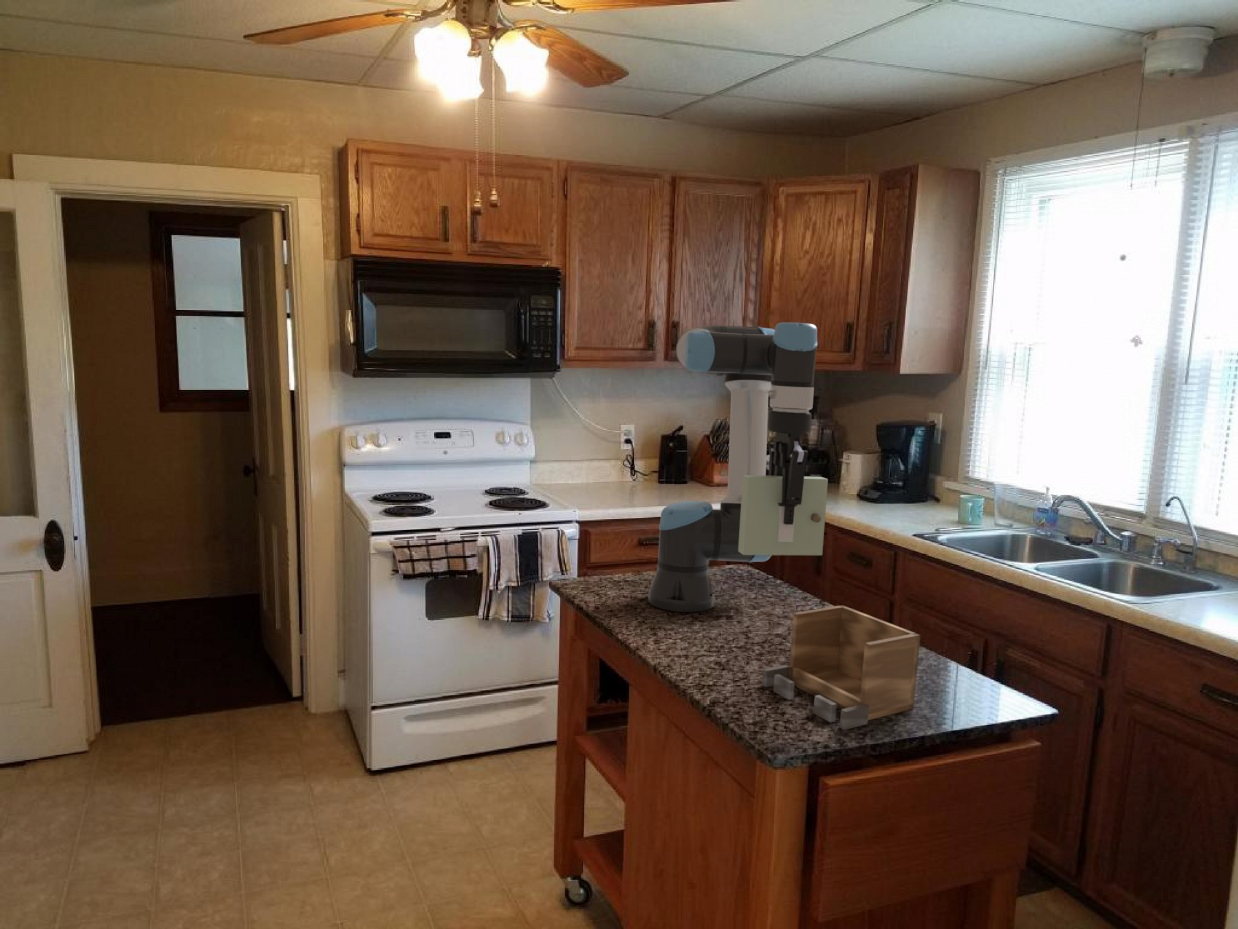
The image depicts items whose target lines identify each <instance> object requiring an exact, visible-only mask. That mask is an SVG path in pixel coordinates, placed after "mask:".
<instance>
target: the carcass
mask: <svg viewBox="0 0 1238 929" xmlns="http://www.w3.org/2000/svg"><path fill="white" fill-rule="evenodd" d="M792 617H793V618H792V628H791V640H790V641H791V642H790V655H789V656H790V657H789V665H787V664H784V665H779V666H773V667H770V668H769V667H768V668H764V669H763V671H762V672H763V673H762V684H761V685H762V686H763V687H765V688H771V687H773V691H772V692H774V693H775V694H777V695H779V696H781V697H782V698H785V699H786V700H788V701H790V700H793V699H794V694H795V688H797V689H800V690H801V691H804V692H805V693H807V694H810V695H811V696H813V697H814V701H813V714H814V715H815V716H818V717H819V718H822V719H823V720H824V721H827V722H829V723H833V722H836V716H837V709H838V710H840V719H839V729H842V730H845V731H846V730H849V729H853V728H858V727H861V726H864V725H865V726H866V725H868V722H869V721H870V720H874V719H878V718H881V717H886V716H889V715H893V714H898V713H902V712H906V711H910V710H913V709H914V704H915V694H916V685H917V673H918V666H919V665H918V662H919V654H920V653H919V652H920V645H921V644H920V643H921V642H920V641H921V634H919V633H916V632H914V631H911V630H908V629H907V628H906V629H905V628H903V627H900V626H898V625H895V624H893V623H890V622H887V621H885V620H882V619H879V618H877V617H874V616H871V615H869V614H867V613H864V612H861V611H859V610H856V609H854V608H850V607H848V606H846V605H842V604H841V605H835V606H829V607H828V606H827V607H823V608H816V609H810V610H803V611H798V612H793V615H792Z"/></svg>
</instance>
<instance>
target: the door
mask: <svg viewBox="0 0 1238 929" xmlns="http://www.w3.org/2000/svg"><path fill="white" fill-rule="evenodd" d="M828 483H829V479H828V478H825V477H822V476H805V475H804V483H803V493H802V502H801V505H797V506H796V507H795V520H794V534H793V542H778V541H777V536H778V522H779V507H780V506H779V505H778V503H782V476H769V475H766V476H758V475H743V483H742V499H741V514H740V530H739V546H738V551H739V552H740V553H741V554H743V555H771V556H823V549H824V548H823V547H824V537H825V536H824V535H825V534H824V533H825V524H826V523H825V521H826V509H827V498H828Z"/></svg>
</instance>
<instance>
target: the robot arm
mask: <svg viewBox="0 0 1238 929" xmlns="http://www.w3.org/2000/svg"><path fill="white" fill-rule="evenodd" d="M818 344H819V343H818V327H817V326H816V325H815V324H813V323H804V322H778V323H777V324H776V325H775V327H774V328H770V327H769V328H768V327H761V326H739V325H736V326H735V325H720V324H719V325H717V324H715V325H714V324H713V325H704V326H699V327H698V326H697V327H694V328H692V329H688V330H687V331H685V332H683V334H681V335H680V337H679V338H678V340H677V343H676V346H675V353H676V357H677V360H678V362H679V364H681V365H682V366H683V367H684V368H685V369H686V370H687V371H690V372H693V373H697V374H700V375H701V374H702V375H707V376H713V377H724V386H725V387H726V388H727V389H728V390H729V391H730V413H729V414H730V415H729V416H730V417H729V440H728V441H729V443H728V444H729V445H728V468H727V469H728V470H727V472H728V473H727V493H726V495H725V497H724V498H723V499H722V500H721V501H720V507H719V509H715V508H714V509H713V505H712V503H710V502H708V501H697V500H693V501H681V502H677V503H672V504H669V505H667V506H665V507H663V509H662V511H661V514H660V521H659V526H658V530H659V537H658V538H659V539H658V554H657V555H658V556H657V567H656V569H657V570H656V572H655V573H654V574H655V575H654V577H653V579H652V582H651V586H650V588H649V589H648V597H647V598H648V603H649V604H650V605H652V607H655V608H658V609H660V610H665V611H669V612H678V613H680V612H681V613H697V612H704V611H709V610H710V609H712V608H713V607H714V604H715V603H714V602H715V594H714V589H713V586H712V582H711V579H710V575H709V563H710V562H709V561H724V562H725V561H726V562H747V563H753V562H754V563H756V562H758V563H759V562H760V563H761V562H762V563H763V562H766V561H768V560H769V559H770V558H771V557H772V555H743V554H741V553H740V552H739V551H738V546H739V530H740V514H741V499H742V483H743V475H758V476H767V475H766V474H767V448H768V452H769V455H768V456H769V462H768V476H782V503H778V505H779V506H780V507H779V522H778V536H777V541H778V542H793V534H794V520H795V507H796V506H797V505H801V502H802V493H803V483H804V476H805V474H806V464H807V461H808V460H807V459H808V457H809V452H808V450H803V442H802V435H803V434H804V435H805V434H809V433H810V432H811V429H812V428H811V427H812V426H811V425H812V414H811V413H812V412H809V411H810V410H812V409H813V406H814V405H813V404H814V395H815V394H814V392H815V390H814V388H815V387H814V383H815V373H816V372H815V370H816V359H817V358H816V356H817V347H818ZM769 397H770V398H769ZM769 407H770V408H772V410H770V411H769ZM768 431H770V432H773V433H775V438H774V442H769V443H768V446H767V440H768Z"/></svg>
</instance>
